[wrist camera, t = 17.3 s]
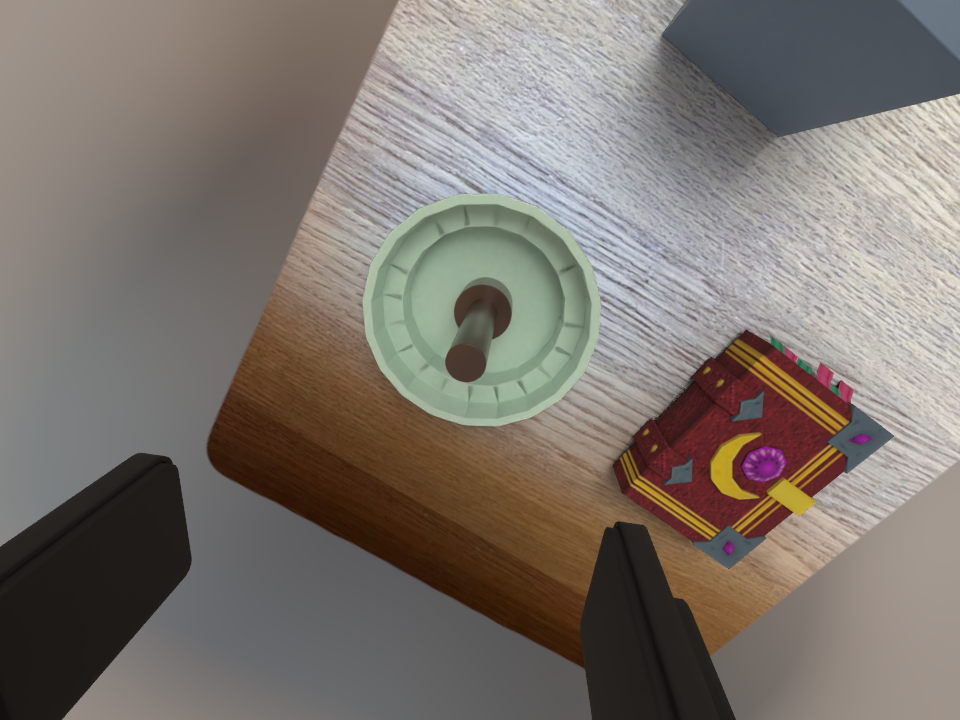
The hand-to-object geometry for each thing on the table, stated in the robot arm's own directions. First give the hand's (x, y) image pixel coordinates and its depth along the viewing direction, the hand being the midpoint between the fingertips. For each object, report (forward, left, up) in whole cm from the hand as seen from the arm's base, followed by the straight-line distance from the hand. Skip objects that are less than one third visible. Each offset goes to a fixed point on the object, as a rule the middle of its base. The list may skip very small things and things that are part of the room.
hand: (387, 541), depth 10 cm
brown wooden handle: (0, 0, -26) cm, 26 cm away
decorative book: (+22, +3, -27) cm, 35 cm away
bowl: (0, 0, -26) cm, 26 cm away
